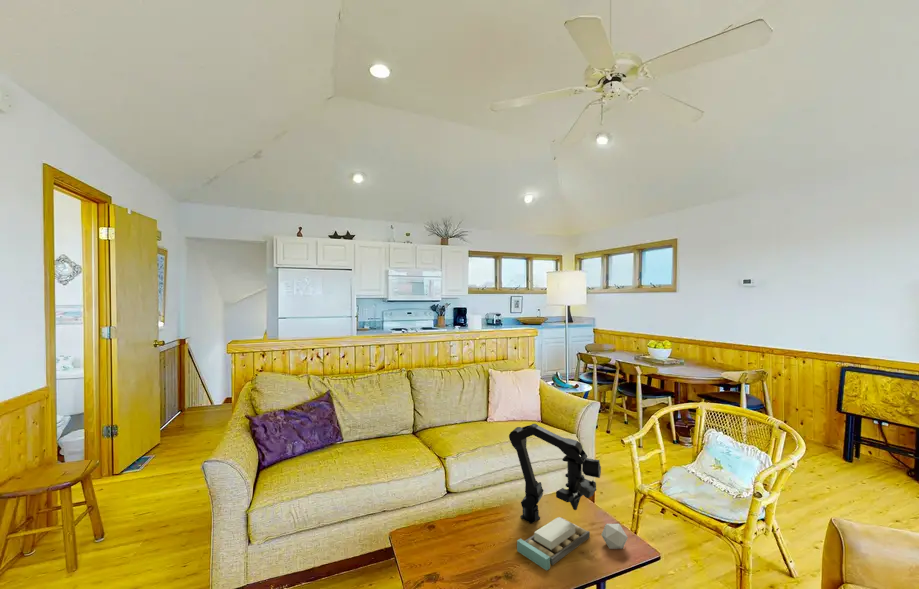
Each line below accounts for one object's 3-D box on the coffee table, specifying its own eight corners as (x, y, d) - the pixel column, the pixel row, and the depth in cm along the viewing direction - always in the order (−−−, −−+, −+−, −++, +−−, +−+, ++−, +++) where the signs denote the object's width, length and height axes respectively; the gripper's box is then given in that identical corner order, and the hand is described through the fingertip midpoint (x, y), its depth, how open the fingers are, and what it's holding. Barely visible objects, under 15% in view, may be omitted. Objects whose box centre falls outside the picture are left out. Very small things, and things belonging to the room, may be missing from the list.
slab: (534, 539, 150) (534, 532, 150) (558, 523, 160) (558, 516, 160) (551, 549, 144) (551, 541, 144) (575, 532, 154) (575, 525, 154)
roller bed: (524, 547, 150) (524, 539, 150) (561, 522, 166) (561, 515, 166) (552, 565, 140) (552, 557, 140) (589, 537, 156) (589, 530, 156)
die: (624, 559, 144) (634, 532, 147) (602, 544, 146) (612, 518, 149) (615, 553, 152) (625, 528, 155) (595, 539, 154) (604, 515, 157)
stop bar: (517, 551, 148) (517, 540, 148) (520, 548, 149) (520, 538, 149) (546, 570, 137) (546, 559, 137) (550, 568, 138) (550, 557, 138)
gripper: (578, 486, 149) (579, 527, 149) (604, 472, 161) (604, 509, 160) (554, 476, 157) (555, 514, 157) (580, 463, 169) (581, 499, 169)
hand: (575, 509), depth 161 cm, fingers closed
